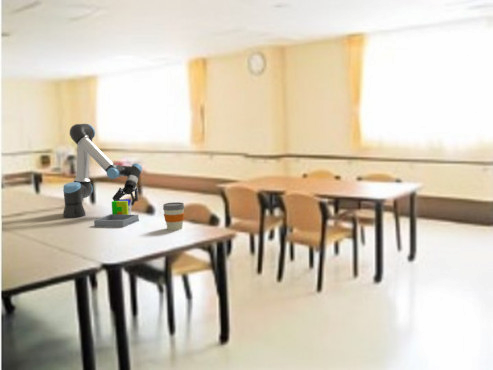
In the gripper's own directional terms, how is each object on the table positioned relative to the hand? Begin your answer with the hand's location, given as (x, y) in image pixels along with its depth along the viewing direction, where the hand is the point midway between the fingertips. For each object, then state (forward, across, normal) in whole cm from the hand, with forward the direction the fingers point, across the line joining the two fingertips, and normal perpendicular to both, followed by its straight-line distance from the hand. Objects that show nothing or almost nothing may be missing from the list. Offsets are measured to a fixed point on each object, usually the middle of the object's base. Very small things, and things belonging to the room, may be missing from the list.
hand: (121, 208), depth 359 cm
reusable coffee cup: (+24, -51, +16) cm, 59 cm away
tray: (+17, -6, +8) cm, 19 cm away
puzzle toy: (+3, 0, -3) cm, 5 cm away
